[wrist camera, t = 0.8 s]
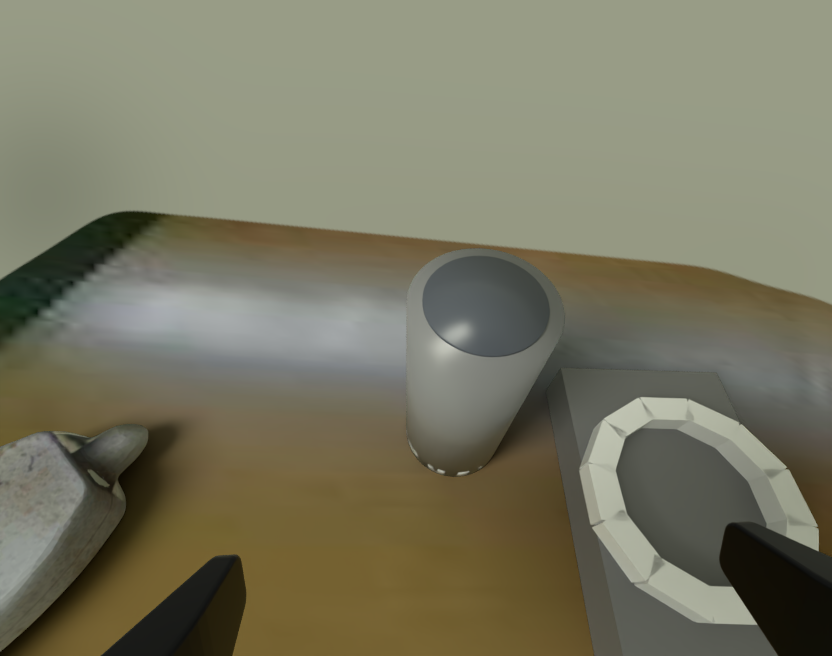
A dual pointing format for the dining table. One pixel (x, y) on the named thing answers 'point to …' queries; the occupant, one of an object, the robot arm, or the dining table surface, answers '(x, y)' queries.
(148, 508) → the dining table surface
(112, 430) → the handheld device
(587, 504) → the grey rectangular block
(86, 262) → the dining table surface
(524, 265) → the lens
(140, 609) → the dining table surface
